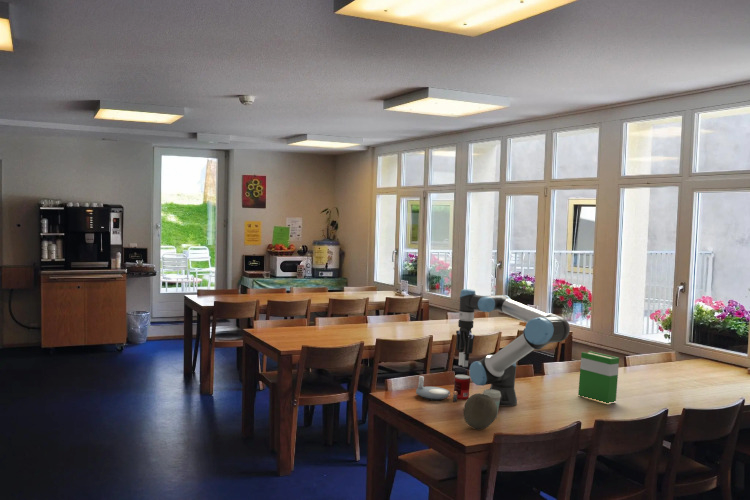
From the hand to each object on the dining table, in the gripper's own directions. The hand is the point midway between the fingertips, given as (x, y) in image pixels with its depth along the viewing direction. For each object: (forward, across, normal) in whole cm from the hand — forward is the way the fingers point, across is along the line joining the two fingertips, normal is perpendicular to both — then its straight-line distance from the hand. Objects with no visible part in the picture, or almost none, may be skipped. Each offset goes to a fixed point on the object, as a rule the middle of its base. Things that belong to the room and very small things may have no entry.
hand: (463, 365), depth 328 cm
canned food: (+17, 0, 0) cm, 17 cm away
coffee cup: (+17, +31, -5) cm, 36 cm away
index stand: (+16, 0, -14) cm, 21 cm away
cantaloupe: (+17, +44, -20) cm, 51 cm away
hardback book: (+17, +21, +71) cm, 76 cm away
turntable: (+14, -3, -15) cm, 21 cm away
